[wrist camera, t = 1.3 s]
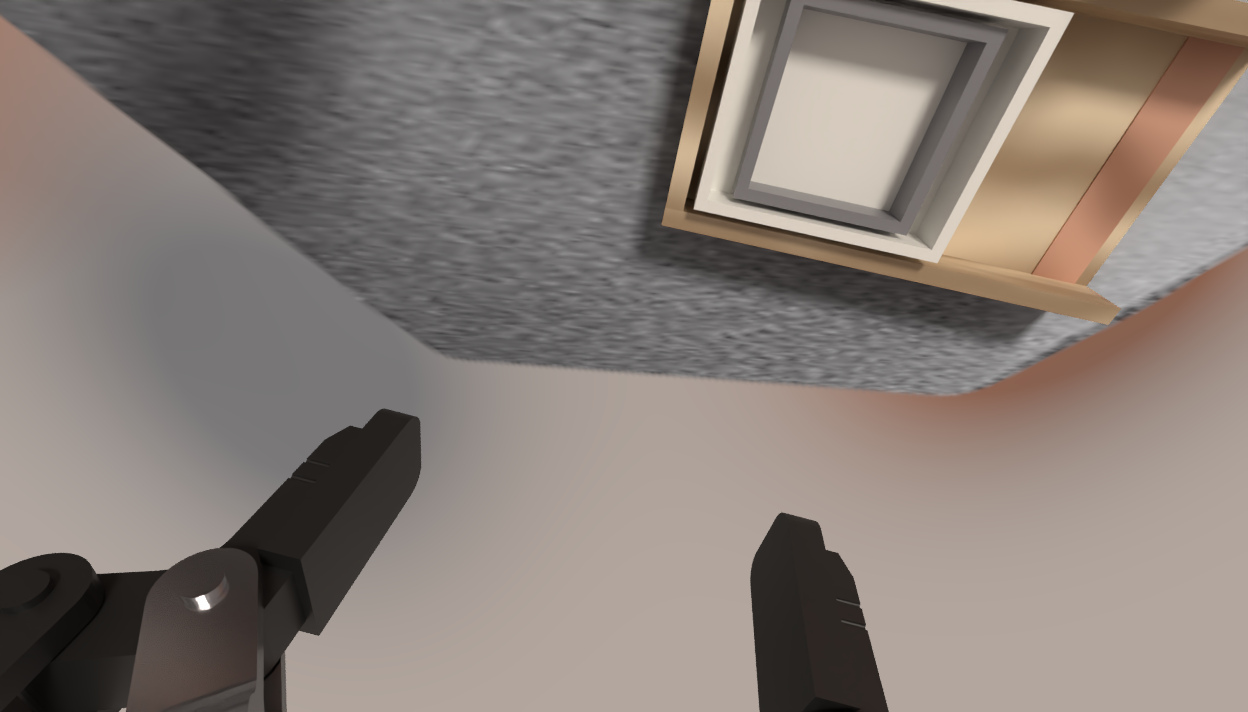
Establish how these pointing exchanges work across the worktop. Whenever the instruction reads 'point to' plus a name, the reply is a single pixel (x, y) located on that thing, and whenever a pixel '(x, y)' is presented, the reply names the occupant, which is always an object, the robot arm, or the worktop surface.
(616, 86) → the worktop surface
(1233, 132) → the worktop surface
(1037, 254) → the bay
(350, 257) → the worktop surface
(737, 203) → the box
